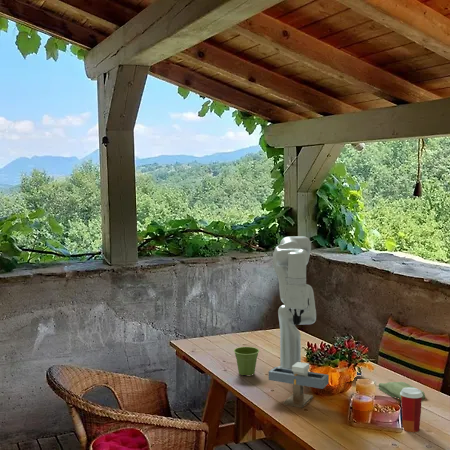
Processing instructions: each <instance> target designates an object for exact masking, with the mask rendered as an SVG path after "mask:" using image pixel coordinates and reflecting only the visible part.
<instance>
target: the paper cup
mask: <svg viewBox="0 0 450 450" xmlns="http://www.w3.org/2000/svg"><path fill="white" fill-rule="evenodd" d="M420 390H421V389H419V388H416V387H415V388H411V387H407V388H403V389H402V391H401V392H400V395H401V401H400V402H401V417H402V420H401V421H402V422H401V423H402V429H403V428H404V429H403V430H404V431H406V432H408V433H419V431H420V427H421V416H422V415H421V413H422V401H423V399H422V396H423V394H422V392H421V391H420Z"/></svg>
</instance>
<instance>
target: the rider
mask: <svg viewBox="0 0 450 450" xmlns="http://www.w3.org/2000/svg"><path fill="white" fill-rule="evenodd" d="M309 369H310V363H307V362H297V363H296V364H294V365H293V366H292V371H293V374H298V375H303V376H308V372H309Z"/></svg>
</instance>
